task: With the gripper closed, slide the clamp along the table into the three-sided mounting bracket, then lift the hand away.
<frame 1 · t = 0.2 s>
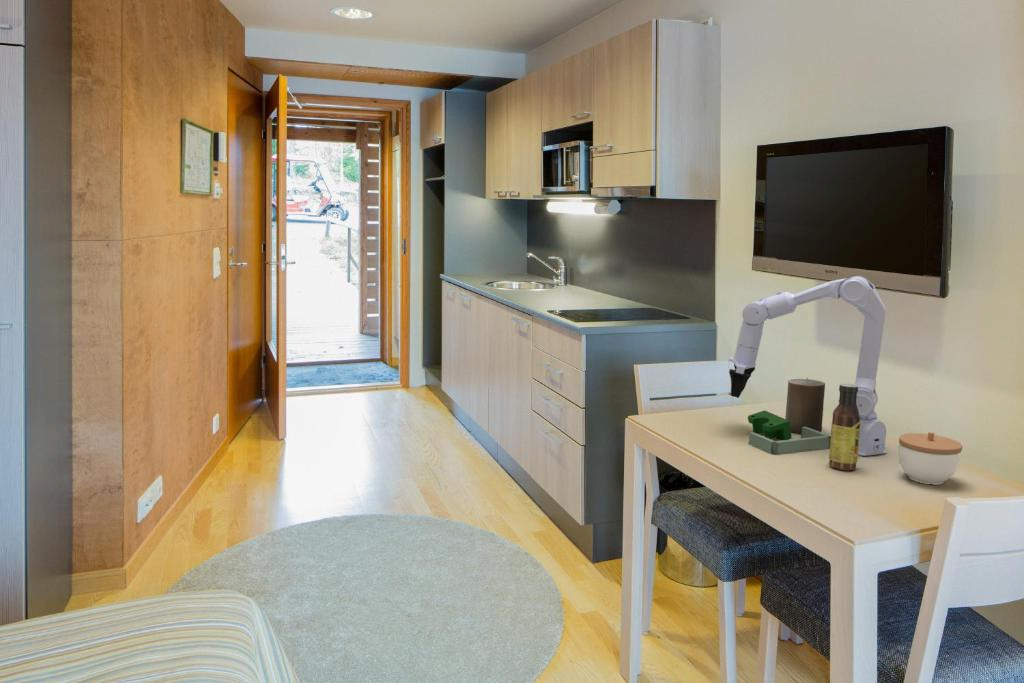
hand: (736, 393, 213), 10 cm above the table, tool pointing down, fingers open, 7 cm apart
clamp: (767, 437, 210), on the table
sauce bottle: (842, 468, 185), on the table
pillar candle: (802, 430, 217), on the table
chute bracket: (788, 445, 202), on the table
lidded bowl: (926, 480, 178), on the table
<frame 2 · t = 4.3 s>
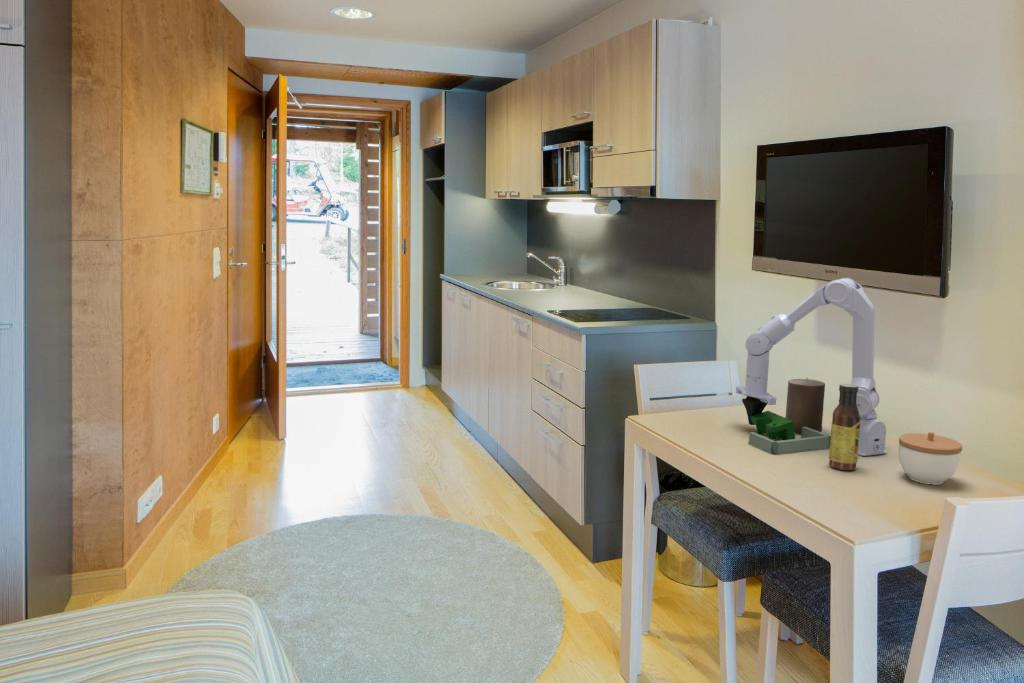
hand: (753, 424, 215), 2 cm above the table, tool pointing down, fingers closed
clamp: (771, 438, 209), on the table, touching gripper
everything else where it was.
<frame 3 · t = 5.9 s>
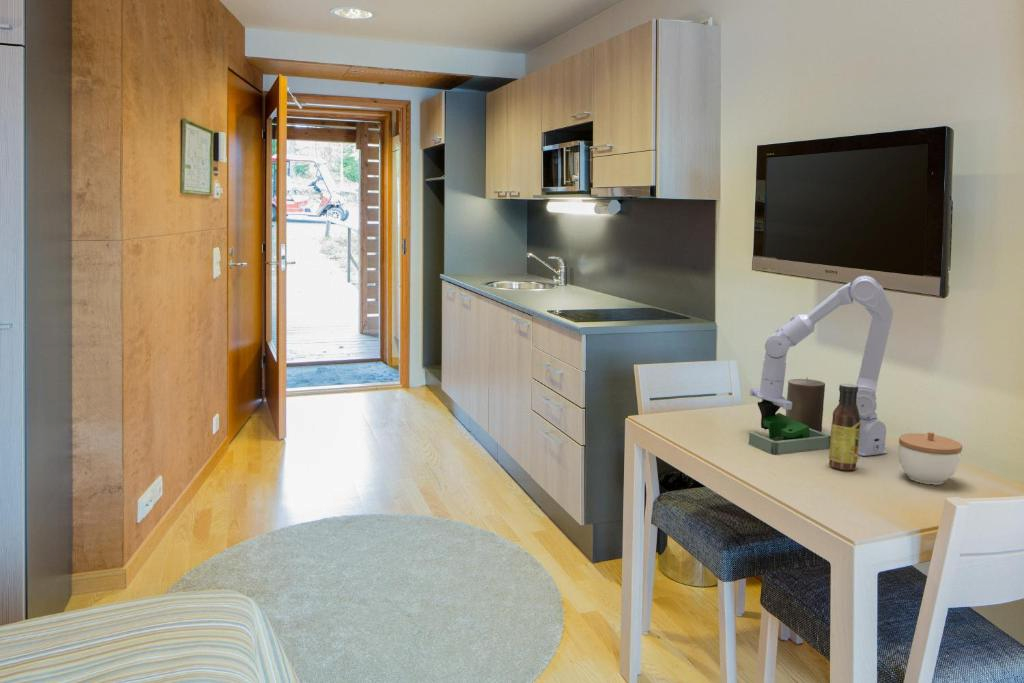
hand: (766, 428, 208), 2 cm above the table, tool pointing down, fingers closed, pressing on clamp
clamp: (783, 442, 204), on the table, touching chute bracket, gripper
everything else where it was.
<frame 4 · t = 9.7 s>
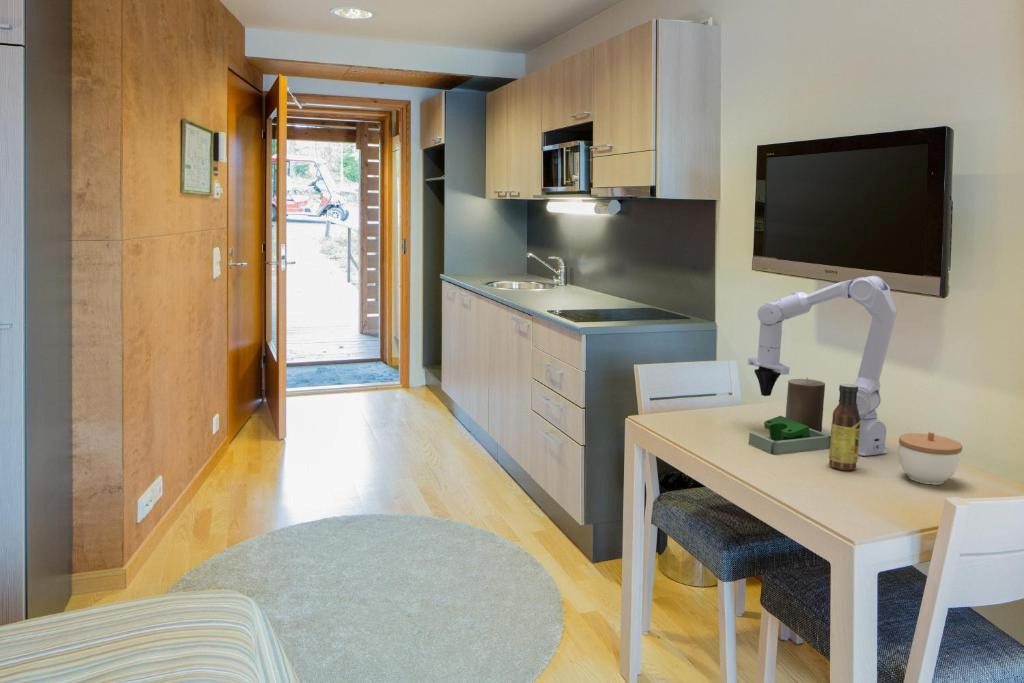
hand: (765, 395, 214), 10 cm above the table, tool pointing down, fingers closed
clamp: (785, 444, 204), on the table
everything else where it was.
at the end: clamp inside the target area on the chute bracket (1.8 cm from its centre), point 0.0 cm above the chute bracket's base; clamp tilted 1°; clamp moved 6.2 cm from its start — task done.
